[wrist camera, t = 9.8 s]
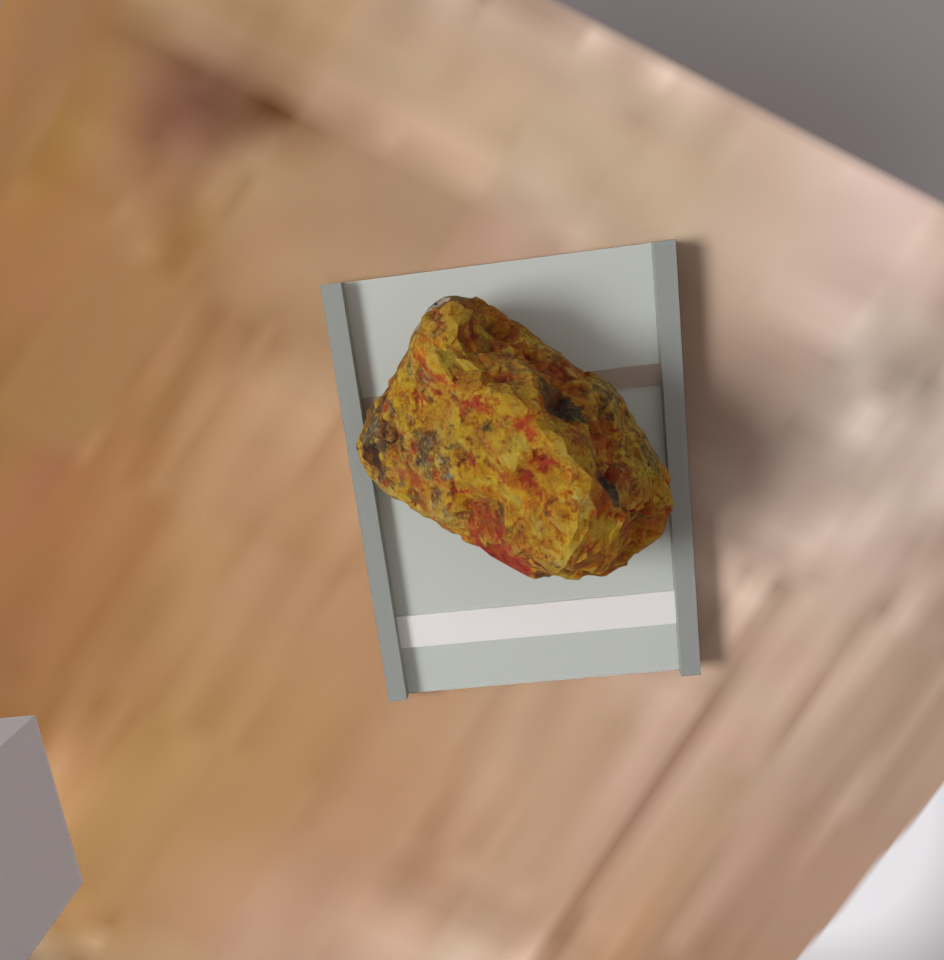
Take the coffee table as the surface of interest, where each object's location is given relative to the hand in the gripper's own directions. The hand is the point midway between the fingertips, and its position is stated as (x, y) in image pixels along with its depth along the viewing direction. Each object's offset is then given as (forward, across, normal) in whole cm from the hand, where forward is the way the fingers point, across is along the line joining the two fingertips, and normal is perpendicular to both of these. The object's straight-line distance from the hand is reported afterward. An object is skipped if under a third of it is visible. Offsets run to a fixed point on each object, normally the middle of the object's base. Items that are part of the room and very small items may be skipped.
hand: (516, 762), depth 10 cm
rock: (+22, 0, 0) cm, 22 cm away
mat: (+23, 0, -2) cm, 23 cm away
